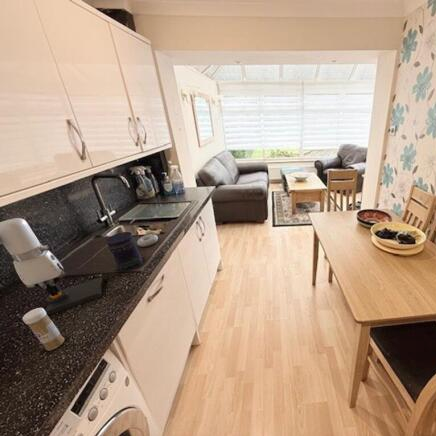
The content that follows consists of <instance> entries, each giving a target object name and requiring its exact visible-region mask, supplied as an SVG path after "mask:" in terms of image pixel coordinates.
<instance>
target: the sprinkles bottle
mask: <svg viewBox="0 0 436 436" xmlns="http://www.w3.org/2000/svg"><path fill="white" fill-rule="evenodd" d="M21 319H22V321H23V322H24V324H26V325H27V326H28V327H29V328H30V330H31V331H32V332H33V334H34V335H35V336H36V338H37V339H38V341H39V342H40V343H41V344H42V346H44V349H45V350H46V351H53V350H56V349H57V348H59V347H60V346H62V345H63V344H64V342H65V340H66V339H65V337H63V335H62V334H61V333H60V330H59V329H58V328H57V326H56V325H55V324H54V322H53V321H52V320H51V318H50V317H49V315H47V313H46V309H44V308H43V307H37V308H34V309H31V310H30V311H28V312H26V313H25V314H24V315H23V316H22V318H21Z"/></svg>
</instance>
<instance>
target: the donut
mask: <svg viewBox="0 0 436 436" xmlns="http://www.w3.org/2000/svg"><path fill="white" fill-rule="evenodd" d="M158 241H159V237H158V235H156V234H152V233H151V234H146V235H143V236H141V237H140V238H138V240H137V241H136V245H137V246H139V247H141V248H146V247H150V246H153V245H155V244H157V242H158Z"/></svg>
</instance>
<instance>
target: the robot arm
mask: <svg viewBox="0 0 436 436" xmlns="http://www.w3.org/2000/svg"><path fill="white" fill-rule="evenodd" d="M0 245H3V247H4V248H5V249H6V251H7V252H8V253H9V254H10V257H11V258H12V259H13V262H12V263H13V266H14V270H15V271H16V273H17V275H18V277H19V279H20V280H21V282H22V283H23V284H24V285H25V286H26V288H28V289H29V288H34V287H35V288H36V287H37V288H41V289H43V290H46V292H47V294H48V295H51V296H54V295H58V293H59V291H60V290H61V287H60V286H59V285H58V283H57V282H58V281H59V280H60V279H63V278H65V277H66V275H67V273H66V272H65V271H64V266H63V265H62V263H61V262H60V261H59V259H58V258H57V257H56V256H55V255H54V254H53V253H52V252H51V250H48V249H49V245H46V244H45V245H43V244H42V243H41V242H40V240H39V239H38V238H37V236H36V234H35V232H34V231H33V230H32V228H31V226H30V225H29V223H28V222H27V220H25V219H24V218H20V217H15V218H9V219H6V220H3V221H0Z"/></svg>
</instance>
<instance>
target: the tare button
mask: <svg viewBox="0 0 436 436" xmlns="http://www.w3.org/2000/svg"><path fill="white" fill-rule="evenodd" d="M49 295H50V297H51V298H52V299H54V298H57V297H59V296H61V295H62V293H61V291H59V293H58V295H54V296H51V294H49Z"/></svg>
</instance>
